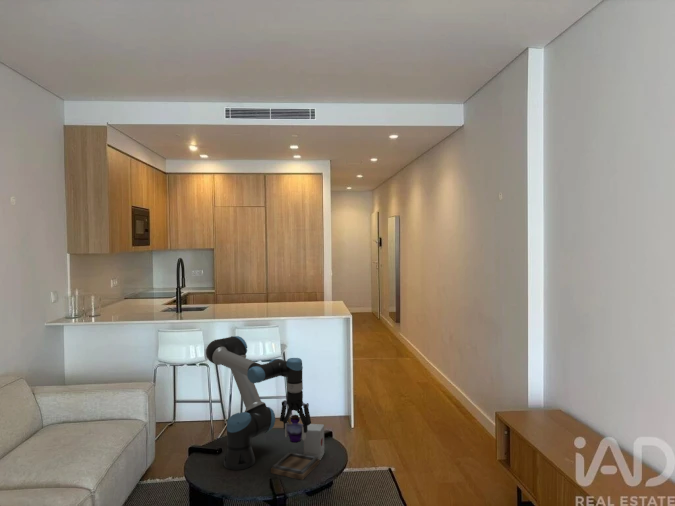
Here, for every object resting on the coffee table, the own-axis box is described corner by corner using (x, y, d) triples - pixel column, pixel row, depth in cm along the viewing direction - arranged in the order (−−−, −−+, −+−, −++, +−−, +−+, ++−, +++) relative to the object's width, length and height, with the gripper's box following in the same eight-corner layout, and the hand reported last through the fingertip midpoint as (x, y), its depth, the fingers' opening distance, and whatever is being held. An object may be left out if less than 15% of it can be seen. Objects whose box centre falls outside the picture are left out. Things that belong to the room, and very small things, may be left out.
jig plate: (270, 473, 219) (270, 466, 219) (289, 457, 236) (289, 451, 236) (302, 479, 212) (302, 473, 212) (319, 463, 229) (319, 456, 229)
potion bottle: (302, 435, 229) (302, 411, 229) (306, 442, 221) (305, 417, 221) (285, 438, 227) (284, 413, 227) (288, 445, 218) (287, 419, 218)
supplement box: (320, 460, 231) (320, 431, 231) (303, 459, 233) (303, 429, 233) (324, 452, 240) (324, 424, 240) (308, 451, 242) (307, 423, 242)
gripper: (271, 390, 224) (272, 437, 225) (311, 395, 216) (311, 443, 216) (279, 386, 231) (280, 431, 231) (318, 391, 223) (318, 437, 223)
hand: (295, 437), depth 224 cm, fingers closed on potion bottle, 9 cm apart
